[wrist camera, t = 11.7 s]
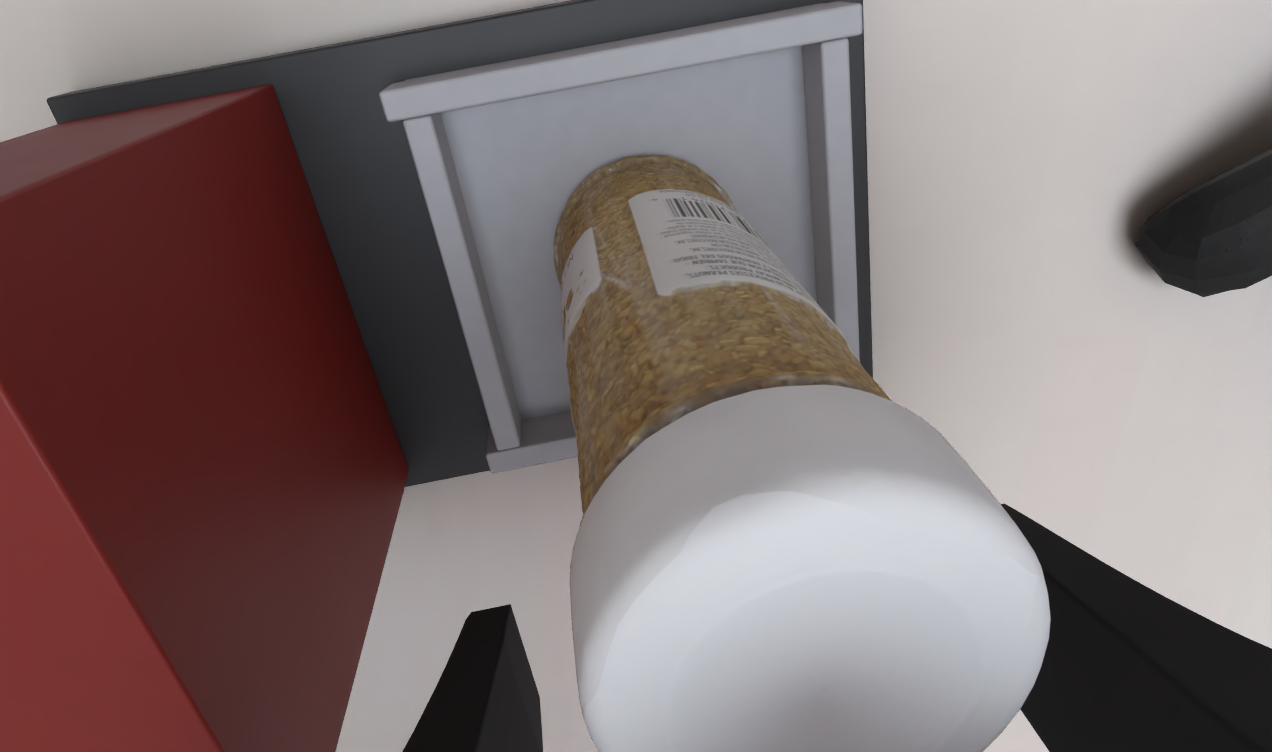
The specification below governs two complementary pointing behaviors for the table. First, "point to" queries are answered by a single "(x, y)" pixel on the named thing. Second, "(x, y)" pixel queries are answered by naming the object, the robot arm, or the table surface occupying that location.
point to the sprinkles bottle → (765, 506)
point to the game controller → (1215, 232)
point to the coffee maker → (340, 328)
